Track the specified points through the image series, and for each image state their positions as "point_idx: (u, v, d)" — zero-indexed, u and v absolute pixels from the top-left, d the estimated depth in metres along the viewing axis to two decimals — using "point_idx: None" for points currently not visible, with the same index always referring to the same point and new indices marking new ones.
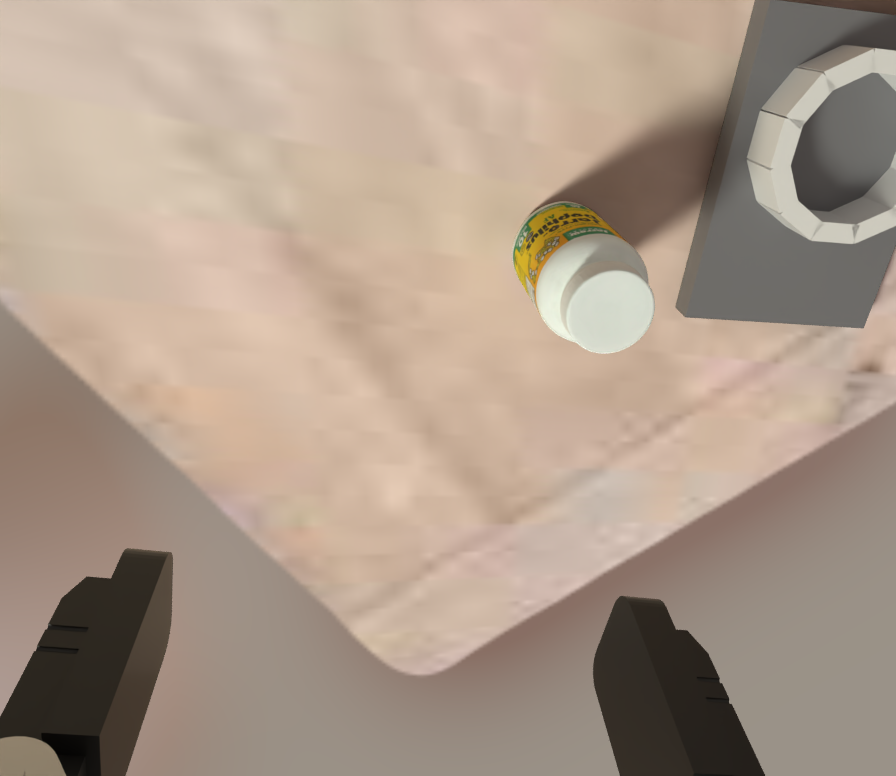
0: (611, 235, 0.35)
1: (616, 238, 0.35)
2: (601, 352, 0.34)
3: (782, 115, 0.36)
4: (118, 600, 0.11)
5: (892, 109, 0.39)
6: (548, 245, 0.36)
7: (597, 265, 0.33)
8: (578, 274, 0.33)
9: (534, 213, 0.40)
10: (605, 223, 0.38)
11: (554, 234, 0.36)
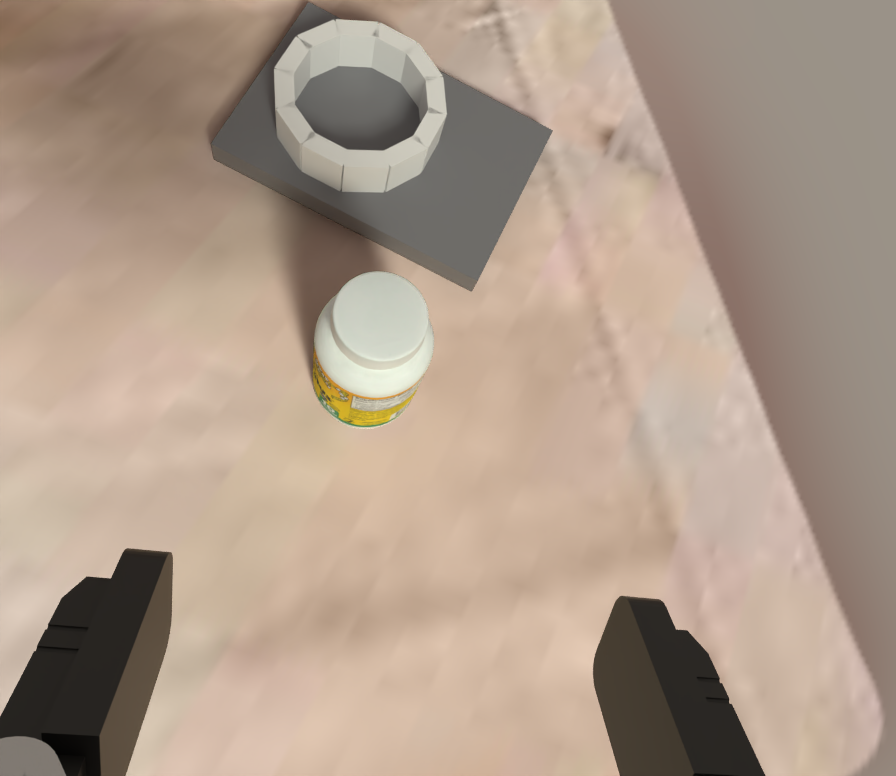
0: (326, 305, 0.34)
1: None
2: (422, 336, 0.31)
3: (301, 148, 0.39)
4: (118, 600, 0.11)
5: (349, 72, 0.43)
6: (319, 370, 0.34)
7: (331, 316, 0.32)
8: (333, 337, 0.32)
9: (314, 390, 0.39)
10: None
11: (315, 364, 0.35)
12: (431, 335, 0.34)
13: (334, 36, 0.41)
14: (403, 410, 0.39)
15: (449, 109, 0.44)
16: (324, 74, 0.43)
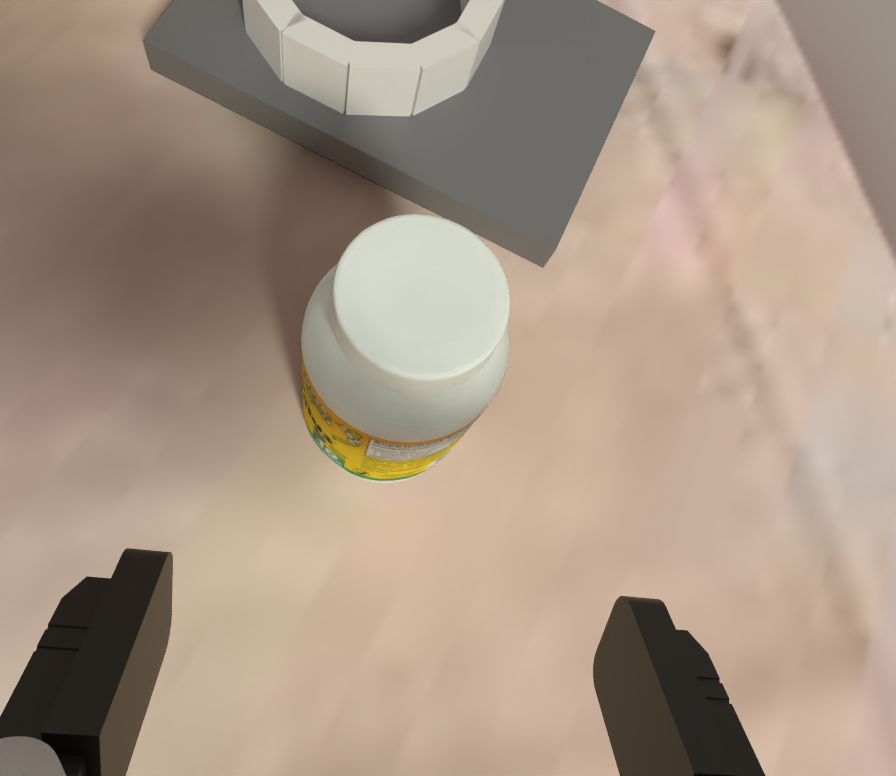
0: None
1: (327, 273, 0.20)
2: (499, 333, 0.17)
3: (281, 39, 0.25)
4: (118, 600, 0.11)
5: None
6: (311, 394, 0.20)
7: (330, 297, 0.17)
8: (335, 336, 0.17)
9: None
10: None
11: (305, 383, 0.21)
12: (505, 331, 0.19)
13: None
14: None
15: None
16: None
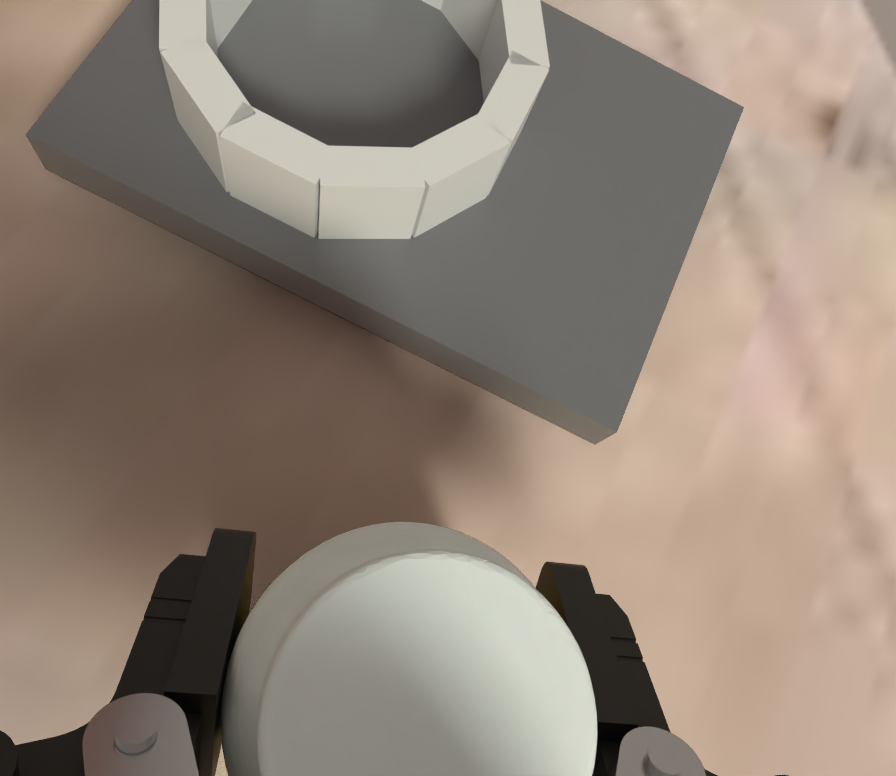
0: (260, 597, 0.12)
1: (268, 587, 0.11)
2: None
3: (220, 142, 0.17)
4: (215, 574, 0.12)
5: None
6: None
7: (258, 713, 0.09)
8: None
9: None
10: None
11: None
12: None
13: None
14: None
15: None
16: None
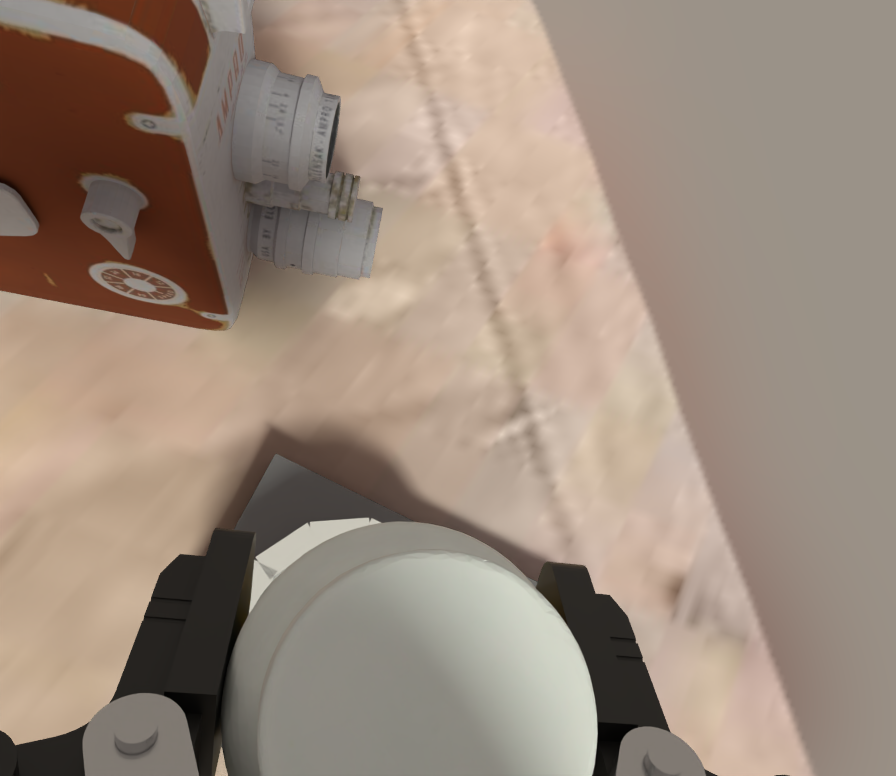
0: (260, 597, 0.12)
1: (268, 587, 0.11)
2: None
3: None
4: (215, 574, 0.12)
5: None
6: None
7: (258, 713, 0.09)
8: None
9: None
10: None
11: None
12: None
13: (308, 550, 0.29)
14: None
15: None
16: None
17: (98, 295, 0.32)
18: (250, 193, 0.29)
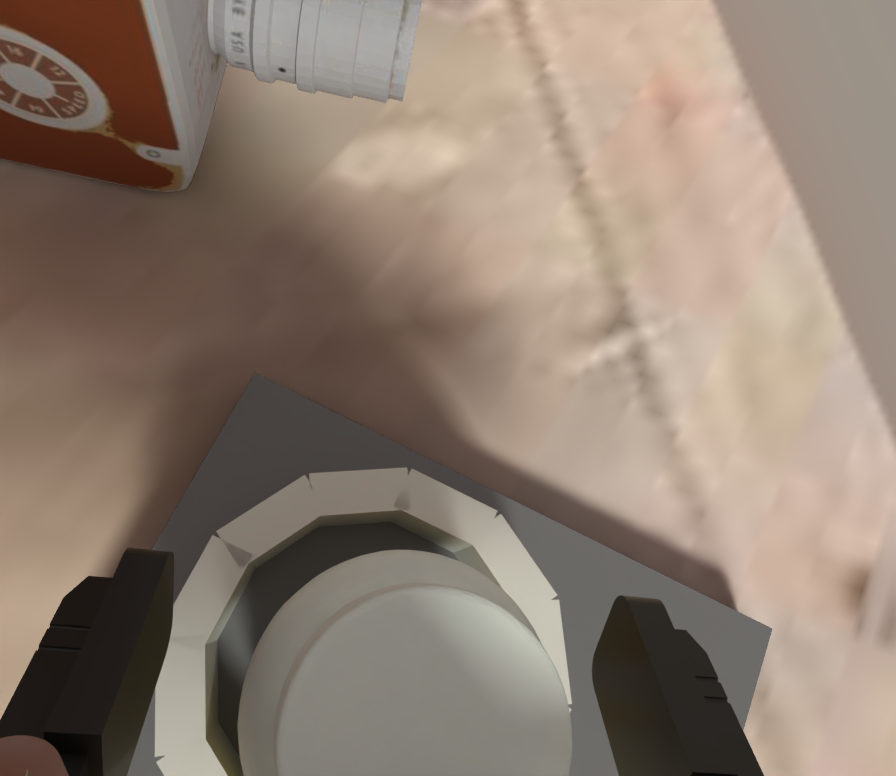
0: (272, 619, 0.13)
1: (280, 611, 0.13)
2: None
3: None
4: (120, 599, 0.11)
5: (341, 541, 0.20)
6: None
7: (275, 729, 0.10)
8: None
9: None
10: None
11: None
12: None
13: (306, 520, 0.17)
14: None
15: None
16: (287, 554, 0.20)
17: None
18: None
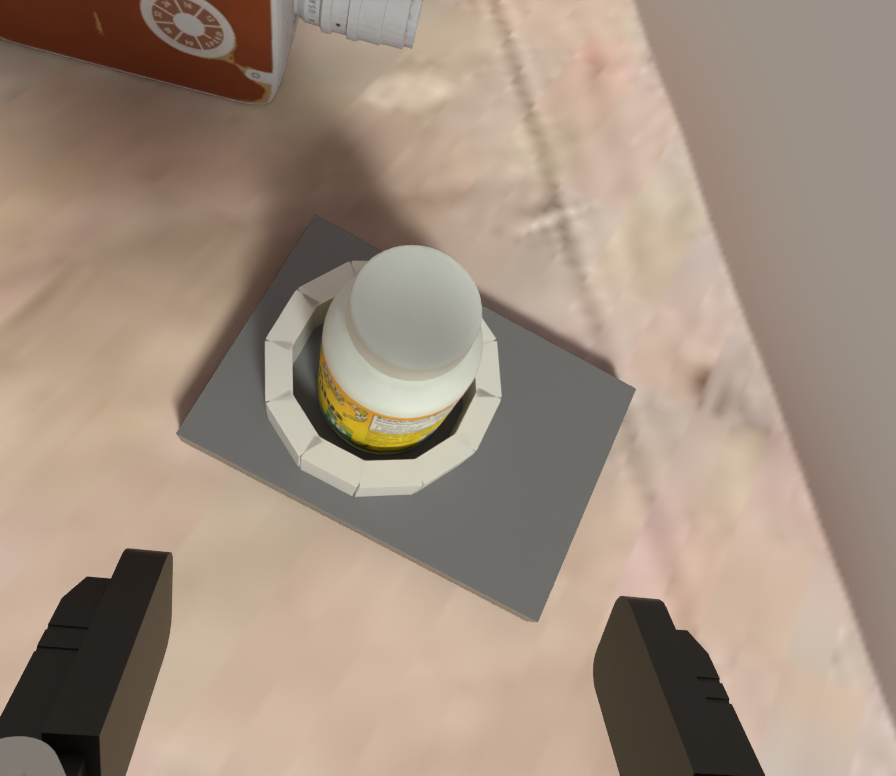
0: None
1: (343, 286, 0.25)
2: (473, 336, 0.23)
3: (300, 457, 0.28)
4: (118, 600, 0.11)
5: None
6: (328, 380, 0.26)
7: (347, 306, 0.23)
8: (350, 335, 0.23)
9: (319, 404, 0.30)
10: None
11: (322, 372, 0.26)
12: (480, 334, 0.25)
13: None
14: (434, 431, 0.30)
15: (500, 364, 0.33)
16: None
17: (145, 47, 0.32)
18: None
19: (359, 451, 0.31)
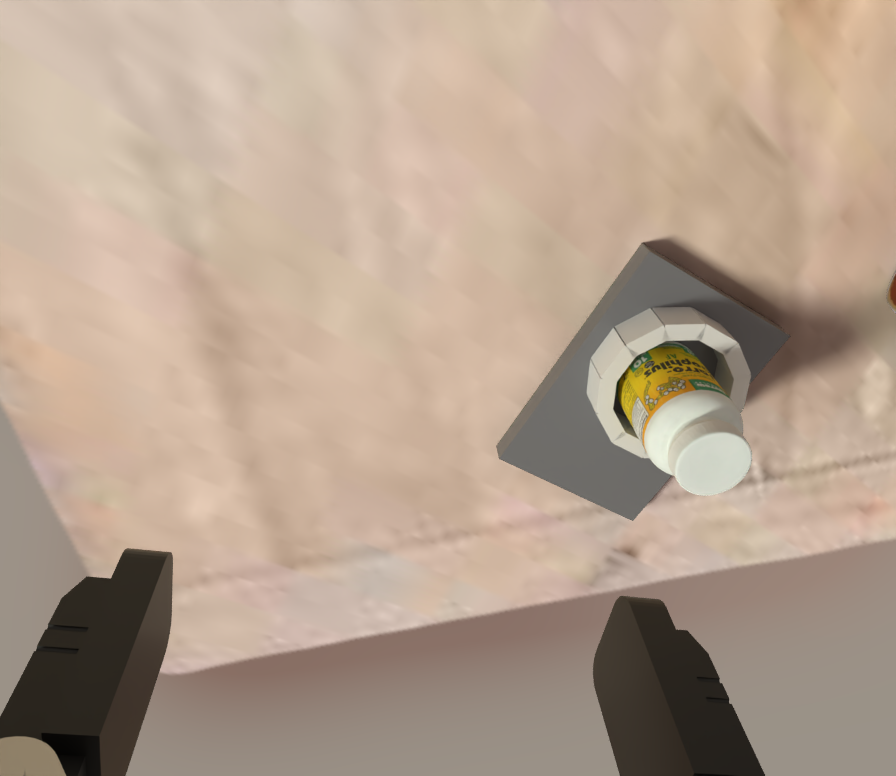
0: (729, 398, 0.41)
1: (732, 403, 0.40)
2: (690, 491, 0.40)
3: (624, 342, 0.44)
4: (118, 600, 0.11)
5: (709, 368, 0.47)
6: (673, 384, 0.41)
7: (719, 423, 0.39)
8: (701, 424, 0.39)
9: None
10: None
11: (679, 376, 0.42)
12: None
13: (733, 373, 0.45)
14: None
15: None
16: (710, 348, 0.46)
17: None
18: None
19: None
